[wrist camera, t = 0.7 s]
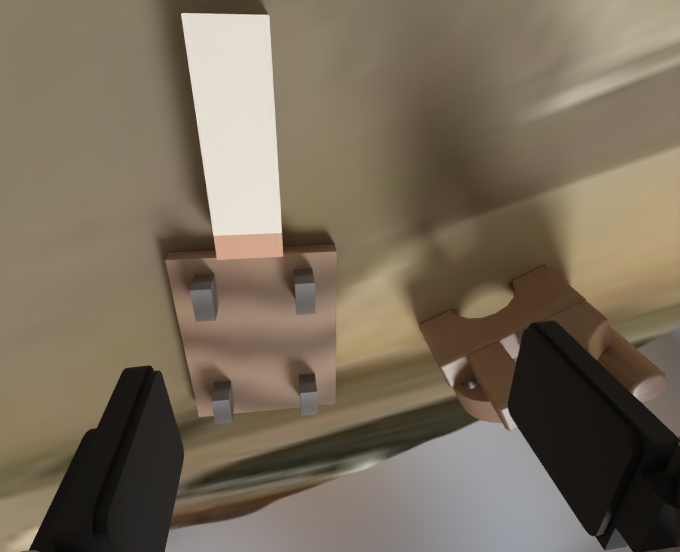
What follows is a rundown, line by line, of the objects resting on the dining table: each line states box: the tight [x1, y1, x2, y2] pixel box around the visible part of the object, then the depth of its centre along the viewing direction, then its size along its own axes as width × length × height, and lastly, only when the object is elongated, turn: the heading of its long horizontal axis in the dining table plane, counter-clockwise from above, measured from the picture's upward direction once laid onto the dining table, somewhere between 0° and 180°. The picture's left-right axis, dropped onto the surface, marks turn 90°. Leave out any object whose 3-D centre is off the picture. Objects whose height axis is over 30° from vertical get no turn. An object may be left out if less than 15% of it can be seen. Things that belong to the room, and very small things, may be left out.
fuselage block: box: [181, 13, 283, 260], centre depth 30 cm, size 16×5×4 cm, turn 179°
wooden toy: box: [419, 265, 680, 446], centre depth 33 cm, size 16×7×25 cm, turn 116°
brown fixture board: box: [165, 244, 337, 424], centre depth 39 cm, size 18×14×4 cm
